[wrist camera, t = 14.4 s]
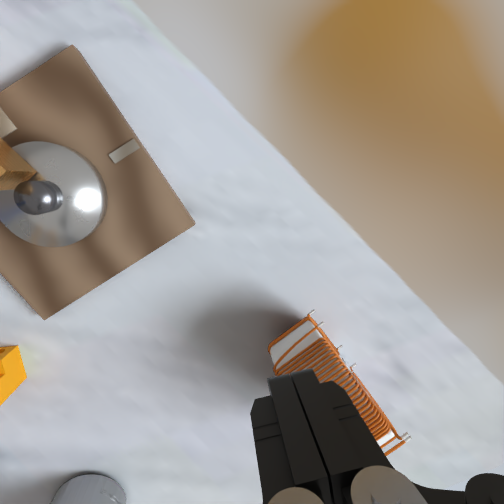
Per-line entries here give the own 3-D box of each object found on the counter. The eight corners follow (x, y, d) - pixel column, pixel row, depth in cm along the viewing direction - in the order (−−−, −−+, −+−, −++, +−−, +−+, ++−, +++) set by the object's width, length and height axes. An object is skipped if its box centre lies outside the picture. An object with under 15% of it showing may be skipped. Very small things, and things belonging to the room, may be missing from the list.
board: (51, 314, 36) (43, 321, 34) (-89, 161, 30) (-106, 160, 29) (195, 222, 35) (194, 225, 33) (79, 50, 30) (71, 43, 28)
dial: (128, 199, 32) (108, 204, 26) (61, 262, 33) (26, 281, 27) (4, 76, 28) (-54, 48, 22) (-68, 151, 29) (-143, 144, 23)
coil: (319, 397, 43) (371, 507, 29) (255, 322, 39) (279, 406, 25) (359, 368, 43) (432, 465, 28) (299, 289, 39) (348, 355, 24)
